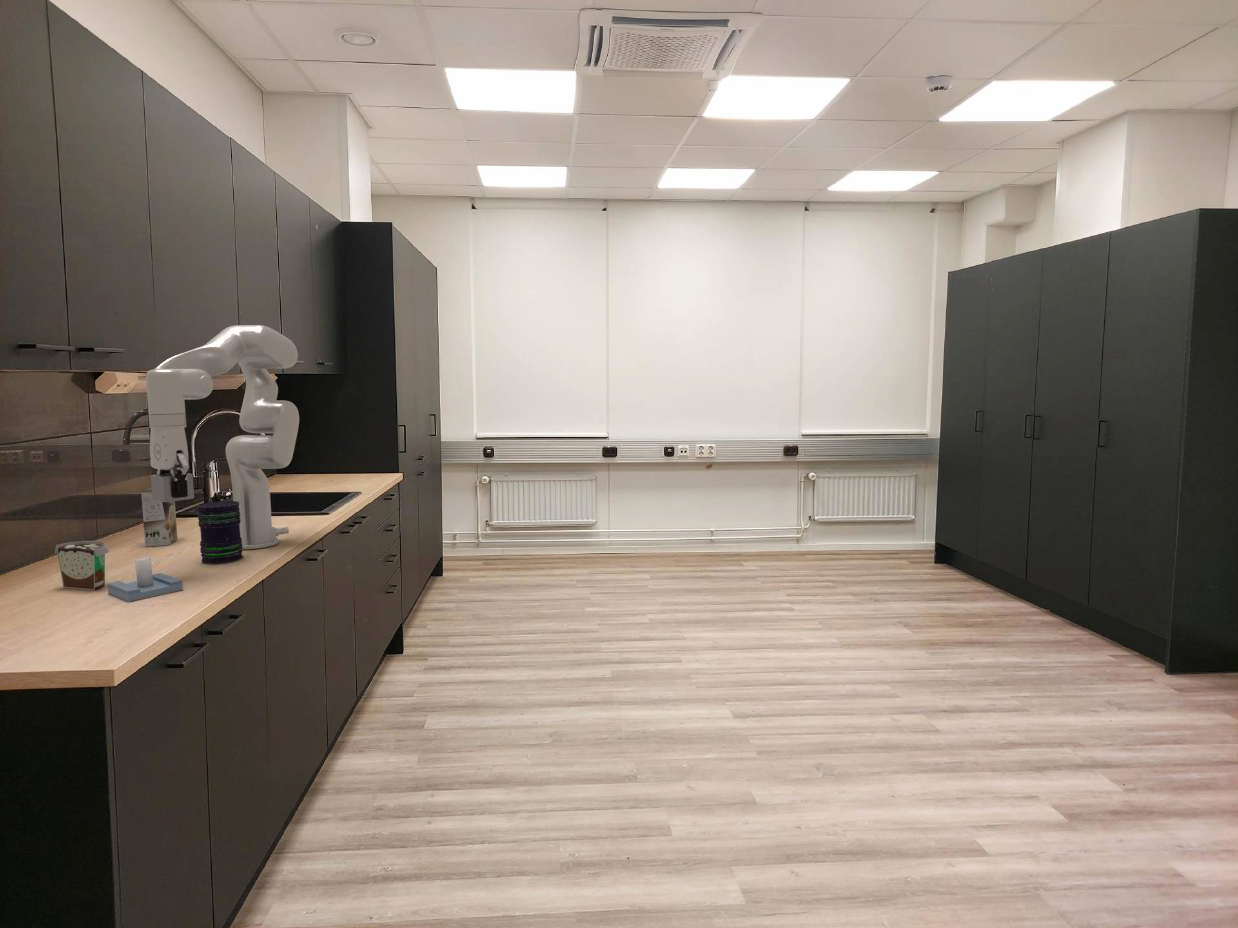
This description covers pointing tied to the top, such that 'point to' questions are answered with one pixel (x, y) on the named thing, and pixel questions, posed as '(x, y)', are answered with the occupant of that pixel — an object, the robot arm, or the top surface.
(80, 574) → the food container
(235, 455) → the robot arm
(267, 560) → the top surface
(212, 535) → the dark blue barrel
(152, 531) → the coffee box
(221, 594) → the top surface
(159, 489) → the grey hollow block
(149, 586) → the shaft block
